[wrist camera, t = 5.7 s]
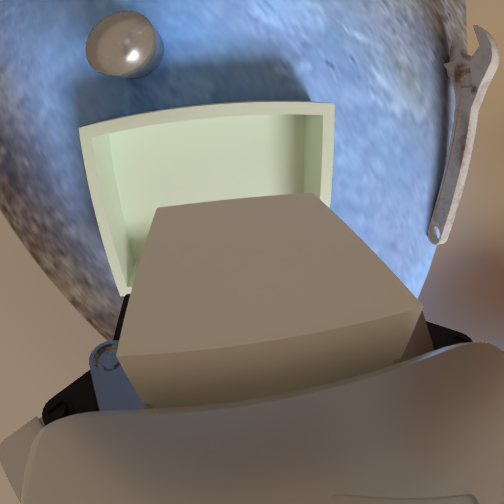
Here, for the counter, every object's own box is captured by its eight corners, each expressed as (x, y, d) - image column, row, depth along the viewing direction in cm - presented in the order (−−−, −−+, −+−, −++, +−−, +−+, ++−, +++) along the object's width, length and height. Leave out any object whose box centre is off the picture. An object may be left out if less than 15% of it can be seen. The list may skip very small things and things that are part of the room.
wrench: (414, 226, 38) (442, 21, 20) (423, 225, 38) (452, 25, 20) (446, 260, 32) (491, 26, 13) (454, 258, 32) (500, 32, 14)
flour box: (157, 207, 10) (115, 355, 4) (312, 192, 11) (423, 306, 5) (182, 325, 13) (186, 464, 7) (304, 309, 14) (359, 432, 8)
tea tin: (108, 34, 18) (85, 21, 13) (163, 23, 19) (153, 4, 14) (110, 83, 21) (87, 82, 16) (165, 73, 21) (154, 67, 16)
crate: (99, 121, 22) (78, 128, 18) (311, 101, 25) (334, 103, 20) (129, 266, 30) (120, 296, 26) (306, 246, 33) (323, 272, 28)
